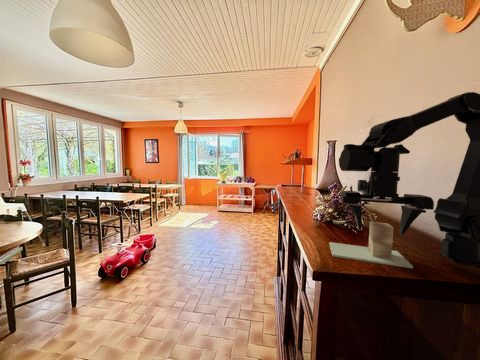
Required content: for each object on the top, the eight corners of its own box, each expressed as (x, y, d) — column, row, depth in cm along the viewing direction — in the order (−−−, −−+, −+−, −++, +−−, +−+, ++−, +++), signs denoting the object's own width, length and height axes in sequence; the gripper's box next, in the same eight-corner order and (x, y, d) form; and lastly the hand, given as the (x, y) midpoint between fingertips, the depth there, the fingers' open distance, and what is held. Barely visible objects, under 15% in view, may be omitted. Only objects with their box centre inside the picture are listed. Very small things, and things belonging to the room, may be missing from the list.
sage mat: (397, 252, 54) (397, 251, 54) (413, 268, 46) (413, 266, 46) (329, 243, 60) (329, 242, 60) (332, 256, 52) (332, 254, 52)
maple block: (385, 252, 53) (387, 223, 53) (391, 259, 50) (393, 227, 49) (368, 250, 55) (370, 221, 54) (372, 256, 51) (374, 225, 50)
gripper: (413, 172, 55) (409, 227, 56) (339, 170, 61) (336, 220, 62) (438, 173, 45) (432, 241, 46) (345, 171, 51) (341, 231, 52)
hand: (379, 232), depth 52 cm, fingers open, 9 cm apart
